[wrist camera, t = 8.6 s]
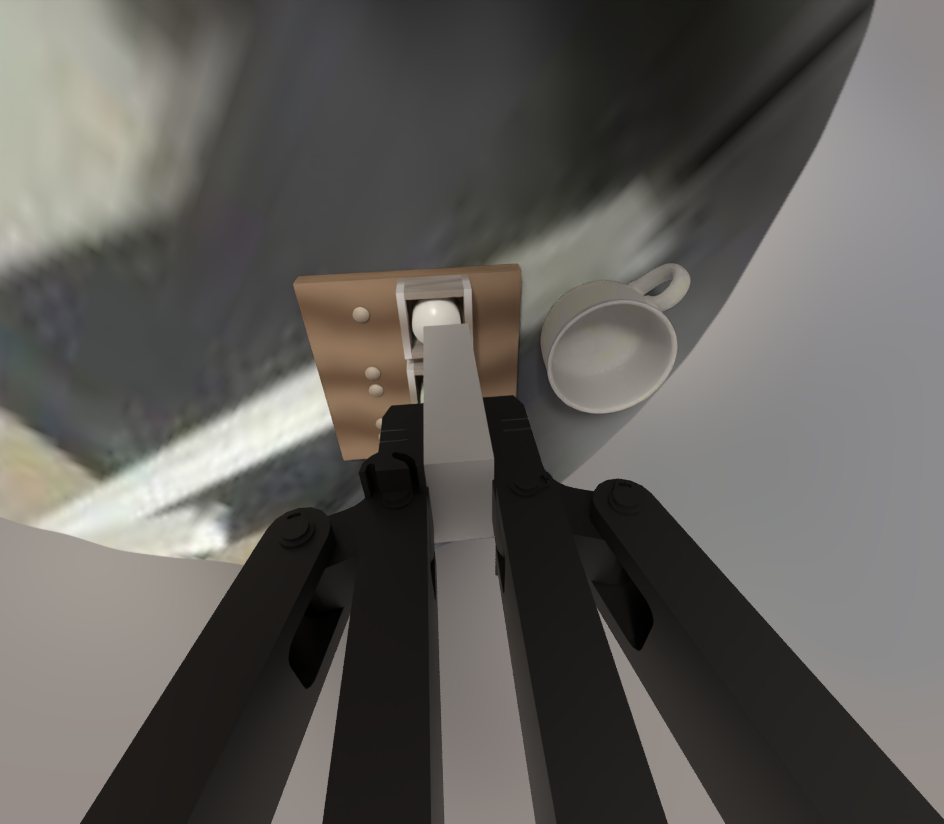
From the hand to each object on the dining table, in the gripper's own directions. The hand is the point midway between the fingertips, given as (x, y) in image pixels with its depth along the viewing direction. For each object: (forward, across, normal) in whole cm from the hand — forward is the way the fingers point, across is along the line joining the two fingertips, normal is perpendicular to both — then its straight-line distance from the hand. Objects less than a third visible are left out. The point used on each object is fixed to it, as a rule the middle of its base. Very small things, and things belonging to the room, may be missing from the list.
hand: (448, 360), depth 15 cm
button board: (+24, -2, -15) cm, 29 cm away
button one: (+22, -1, -8) cm, 24 cm away
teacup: (+25, +15, -10) cm, 31 cm away
